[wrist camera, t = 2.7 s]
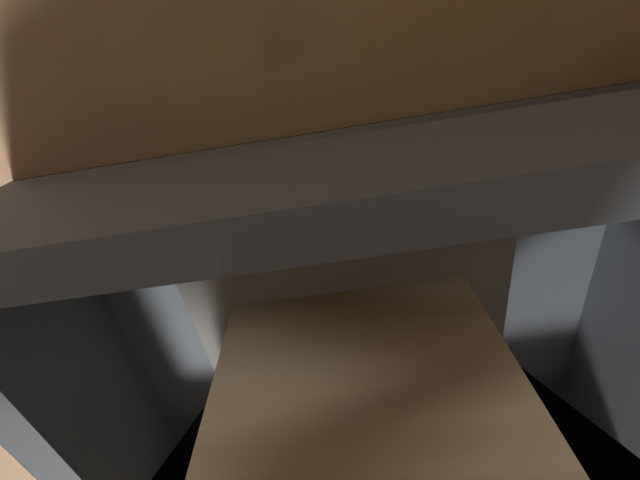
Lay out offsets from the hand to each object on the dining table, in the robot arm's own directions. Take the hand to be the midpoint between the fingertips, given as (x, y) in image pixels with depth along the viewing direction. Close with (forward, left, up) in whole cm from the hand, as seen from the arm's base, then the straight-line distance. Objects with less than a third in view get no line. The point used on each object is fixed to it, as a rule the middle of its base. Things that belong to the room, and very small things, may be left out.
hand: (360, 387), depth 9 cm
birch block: (0, 0, 0) cm, 0 cm away
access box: (0, 0, -3) cm, 3 cm away
